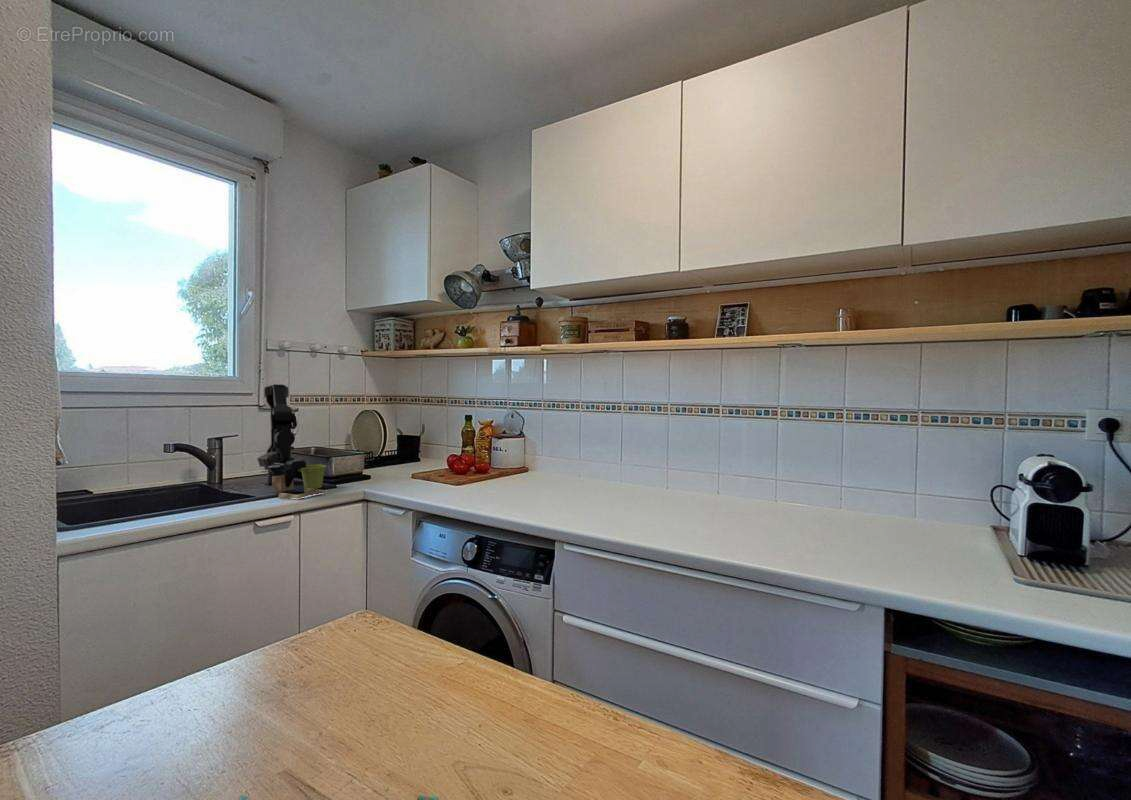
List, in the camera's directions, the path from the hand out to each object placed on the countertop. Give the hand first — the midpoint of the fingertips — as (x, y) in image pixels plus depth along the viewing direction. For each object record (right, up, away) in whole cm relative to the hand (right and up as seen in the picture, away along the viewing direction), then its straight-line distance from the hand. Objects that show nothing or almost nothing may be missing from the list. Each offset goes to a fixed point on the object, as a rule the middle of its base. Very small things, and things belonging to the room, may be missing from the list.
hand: (282, 486), depth 188 cm
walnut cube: (0, -1, 0) cm, 1 cm away
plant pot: (+6, -3, +10) cm, 12 cm away
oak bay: (+9, -3, -4) cm, 11 cm away
